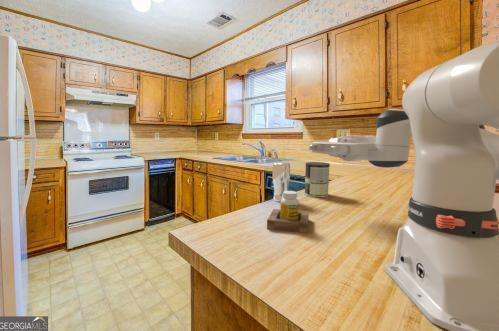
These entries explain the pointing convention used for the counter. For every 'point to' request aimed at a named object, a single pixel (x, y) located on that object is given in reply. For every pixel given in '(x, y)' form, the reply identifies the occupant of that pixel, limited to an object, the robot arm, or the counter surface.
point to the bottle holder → (288, 222)
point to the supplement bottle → (289, 206)
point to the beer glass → (280, 179)
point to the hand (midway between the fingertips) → (321, 148)
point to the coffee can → (317, 179)
